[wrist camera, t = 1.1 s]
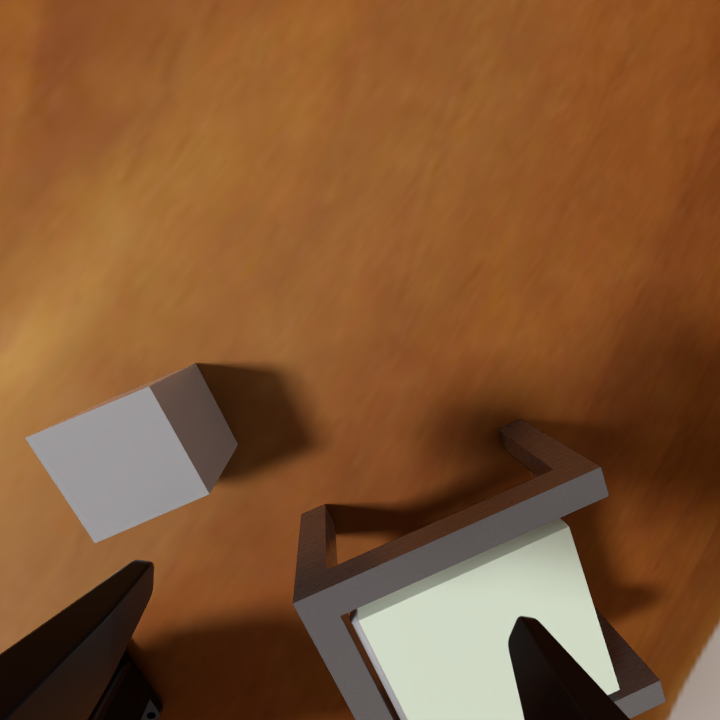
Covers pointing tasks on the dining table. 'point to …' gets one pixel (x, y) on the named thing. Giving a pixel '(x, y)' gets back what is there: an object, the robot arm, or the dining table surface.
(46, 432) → the gray cube
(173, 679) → the dining table surface
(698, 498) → the dining table surface
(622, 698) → the frame
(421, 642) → the trapdoor
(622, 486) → the dining table surface
